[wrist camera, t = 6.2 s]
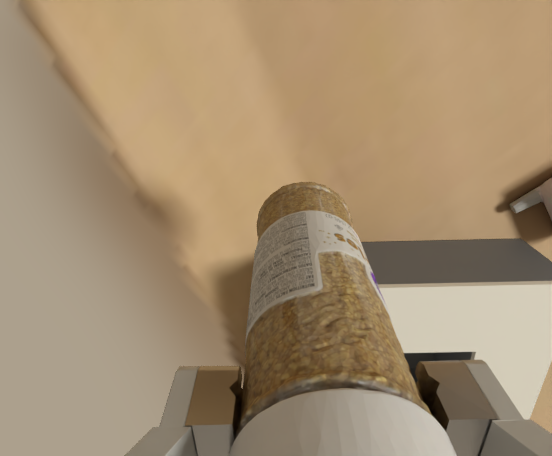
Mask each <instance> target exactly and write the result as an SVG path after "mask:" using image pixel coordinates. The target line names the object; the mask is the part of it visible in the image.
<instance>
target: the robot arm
mask: <svg viewBox="0 0 552 456" xmlns="http://www.w3.org/2000/svg"><path fill="white" fill-rule="evenodd" d="M415 374H416V377H417V379H418V381H417V382H416V385H417V387H418V390H419V392H420V395H421V397H422V399H423V402H424V403H425V404H426V405H427V406H428V408H429V410H430V412H431V414H432V416H433V417H434V418H435V419H436V420H437V421H438V422H439V424H440V425H441V426H442V427H443V429H444V430H445V431H446V433H447V435H448V437H449V439H450V441H451V444H452V446H453V448H454V450H455V453H456V455H457V456H552V434H551V433H550V432H548V431H547V430H545V429H544V428H543V427H541V426H540V425H538V424H537V423H535V422H534V421H532V420H527V419H524V418H523V417H522V415H521V414H520V412H519V411H518V410H517V408H516V407H515V405H514V404H513V402H512V401H511V399H510V398H509V396H508V395H507V393H506V392H505V390H504V389H503V387H502V386H501V384H500V383H499V381H498V380H497V378H496V377H495V375H494V374H493V372H492V371H491V369H490V368H489V366H488V365H487V363H486V362H485V361H483V360H460V361H459V360H449V361H420V362H418V364H417V365H416V370H415ZM241 381H242V374H241V367H240V366H194V367H193V366H180V367H179V368H178V370H177V371H176V373H175V377H174V380H173V383H172V387H171V390H170V393H169V396H168V400H167V403H166V407H165V410H164V413H163V416H162V420H161V423H160V426H159V427H154V428H152V429H151V430H150V431H149V432H148V433H147V434H146V435H145V436H144V437H143V438H142V439H141V440H140V441H139V442H138V443H137V444H136V445H135V446H134V447H133V448H132V449H131V450H130V451H129V452H128V453H127V454H126V455H125V456H229V452H230V450H231V447H232V445H233V443H234V441H235V439H236V431H237V429H238V427H239V424H240V421H241V405H242V397H243V389H242V388H241Z"/></svg>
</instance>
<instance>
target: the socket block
mask: <svg viewBox="0 0 552 456" xmlns="http://www.w3.org/2000/svg"><path fill="white" fill-rule="evenodd" d="M361 244H362V247H363V249H364V252H365V254H366V257H367V259H368V262H369V264H370V267H371V269H372V271H373V274H374V276H375V279H376V282H377V284H378V286H379V289H380V291H381V294H382V296H383V299H384V301H385V304H386V306H387V309H388V311H389V314H390V317H391V320H392V324H393V328H394V331H395V333H396V336H397V339H398V340H399V342H400V344H401V347H402V350H403V352H404V356H405V359H406V360H407V362H408V364H409V367H410V371H411V374H412V376H413V378H414V381H415V383H416V382H417V381H418V379H417V377H416V374H415V370H416V365H417V364H418V362H420V361H449V360H459V361H460V360H483V361H485V362H486V363H487V365H488V366H489V368H490V369H491V371H492V372H493V374H494V375H495V377H496V378H497V380H498V381H499V383H500V384H501V386H502V387H503V389H504V390H505V392H506V393H507V395H508V396H509V398H510V399H511V401H512V402H513V404H514V405H515V407H516V408H517V410H518V411H519V412H520V414H521V415H522V417H523V418H524V419H527V420H529V419H530V416H531V414H532V411H533V408H534V406H535V403H536V400H537V398H538V395H539V392H540V390H541V387H542V384H543V382H544V379H545V377H546V374H547V371H548V369H549V366H550V363H551V361H552V262H551V261H550V260H549V259H547V258H546V257H545V256H543V255H542V254H541V253H539V252H538V251H537V250H535V249H534V248H533V247H531V246H530V245H529V244H527V243H526V242H525V241H523V240H522V239H480V240H436V241H392V242H361Z"/></svg>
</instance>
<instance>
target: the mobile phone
mask: <svg viewBox="0 0 552 456" xmlns="http://www.w3.org/2000/svg"><path fill="white" fill-rule="evenodd" d="M539 202H544V204H545V206H546V209H547V211H548V214H549V216H550V218H551V221H552V178H550V179H548V180H547V181H545V182H544V183H543V184H542V185H541V186H539V187H537V188H535V189H534V190H532V191H530V192H528V193H527V194H525V195H524V196H522V197H520V198H519V199H517V200H516V201H514V202H512V203H511V204H510V208H511V209H512V211H513V212H515V213H518V212H520V211H523V210H525V209H527V208H529V207H531V206H533V205H535V204H537V203H539Z"/></svg>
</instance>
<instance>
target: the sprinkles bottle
mask: <svg viewBox="0 0 552 456" xmlns="http://www.w3.org/2000/svg"><path fill="white" fill-rule="evenodd" d="M257 235H258V244H257V247H256V250H255V256H254V265H253V273H252V283H251V292H250V302H249V312H248V321H247V331H246V340H245V356H246V364H245V374H244V383H243V397H242V405H241V421H240V424H239V427H238V429H237V431H236V439H235V441H234V443H233V445H232V447H231V450H230V452H229V456H457V455H456V453H455V450H454V448H453V446H452V444H451V441H450V439H449V437H448V435H447V433H446V431H445V430H444V429H443V427H442V426H441V425H440V424H439V422H438V421H437V420H436V419H435V418H434V417H433V416H432V414H431V412H430V410H429V408H428V406H427V405H426V404H425V403H424V402H423V399H422V397H421V395H420V392H419V390H418V387H417V385H416V383H415V381H414V378H413V376H412V374H411V371H410V367H409V364H408V362H407V360H406V359H405V356H404V352H403V350H402V347H401V344H400V342H399V340H398V339H397V336H396V333H395V331H394V328H393V324H392V320H391V317H390V314H389V311H388V309H387V306H386V304H385V301H384V299H383V296H382V294H381V291H380V289H379V286H378V284H377V282H376V279H375V276H374V274H373V271H372V269H371V267H370V264H369V262H368V259H367V257H366V254H365V252H364V249H363V247H362V244H361V242H360V239H359V237H358V235H357V234H356V232H355V231H354V228H353V226H352V219H351V215H350V212H349V209H348V207H347V205H346V203H345V202H344V200H343V199H342V198H341V197H340V196H339V195H338V194H337V193H336V192H334V191H333V190H331V189H330V188H328V187H326V186H324V185H321V184H317V183H313V182H300V183H293V184H290V185H286V186H283V187H281V188H280V189H278V190H277V191H276V192H274V193H273V194H271V195H270V197H269V198H268V199H267V200H266V201H265V202H264V204H263V205H262V207H261V209H260V211H259V215H258V220H257Z"/></svg>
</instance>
